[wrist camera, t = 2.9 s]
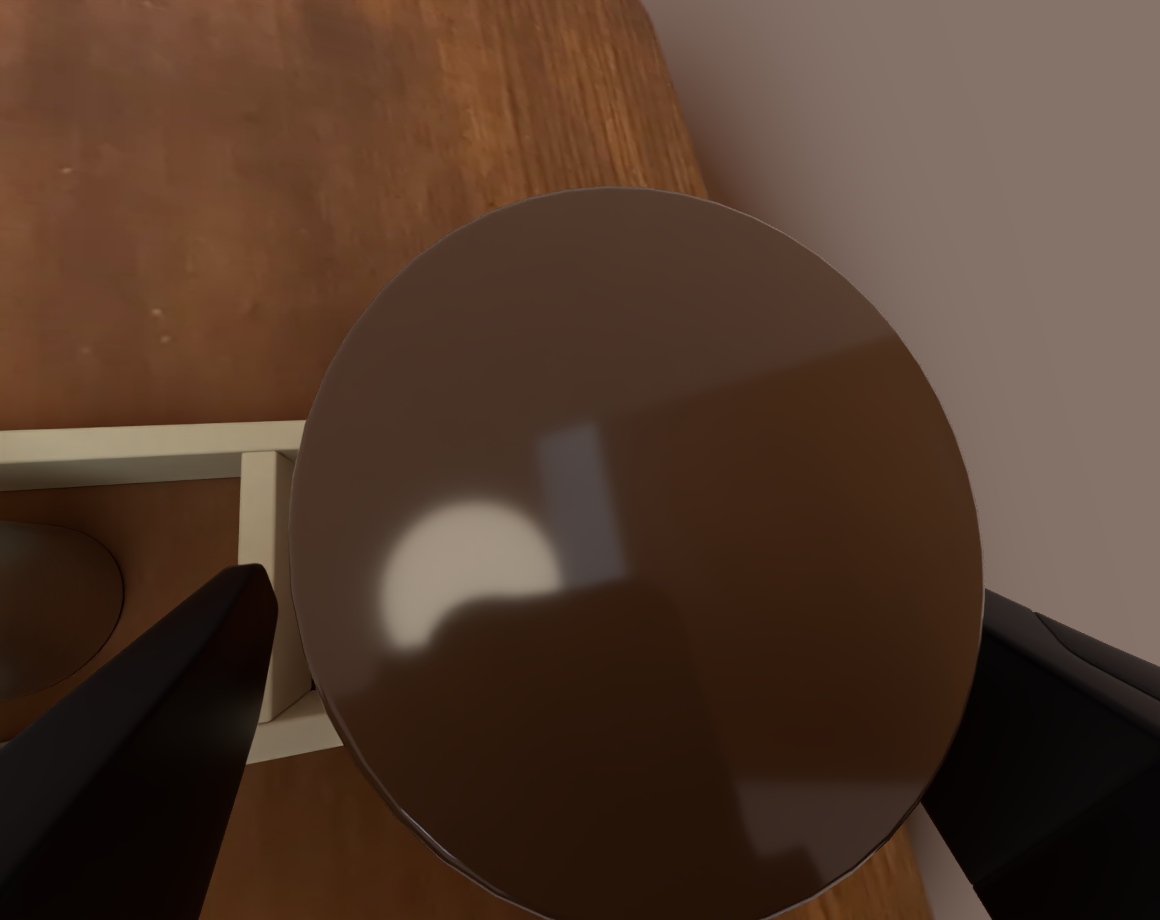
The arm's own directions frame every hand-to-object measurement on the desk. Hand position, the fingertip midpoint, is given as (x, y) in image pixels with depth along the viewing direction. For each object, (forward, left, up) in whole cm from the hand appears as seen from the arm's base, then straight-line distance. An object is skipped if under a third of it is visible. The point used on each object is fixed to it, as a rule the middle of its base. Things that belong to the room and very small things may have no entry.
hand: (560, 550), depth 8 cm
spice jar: (0, 0, -8) cm, 8 cm away
